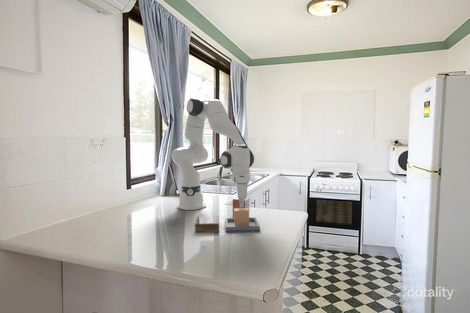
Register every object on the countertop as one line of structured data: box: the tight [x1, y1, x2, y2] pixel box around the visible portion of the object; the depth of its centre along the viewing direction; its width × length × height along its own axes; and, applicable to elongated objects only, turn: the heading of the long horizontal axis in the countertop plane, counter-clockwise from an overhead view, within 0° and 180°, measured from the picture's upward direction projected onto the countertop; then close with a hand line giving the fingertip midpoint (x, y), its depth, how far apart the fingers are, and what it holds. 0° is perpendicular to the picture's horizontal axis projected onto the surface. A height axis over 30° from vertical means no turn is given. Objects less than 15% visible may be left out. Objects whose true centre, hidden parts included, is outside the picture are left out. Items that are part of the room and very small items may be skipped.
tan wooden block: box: [233, 208, 250, 226], centre depth 144 cm, size 5×7×8 cm
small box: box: [232, 196, 250, 218], centre depth 162 cm, size 8×6×10 cm
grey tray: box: [224, 216, 261, 233], centre depth 144 cm, size 15×16×2 cm
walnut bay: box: [194, 215, 220, 234], centre depth 143 cm, size 14×11×4 cm
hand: (240, 204), depth 144 cm, fingers open, 8 cm apart
